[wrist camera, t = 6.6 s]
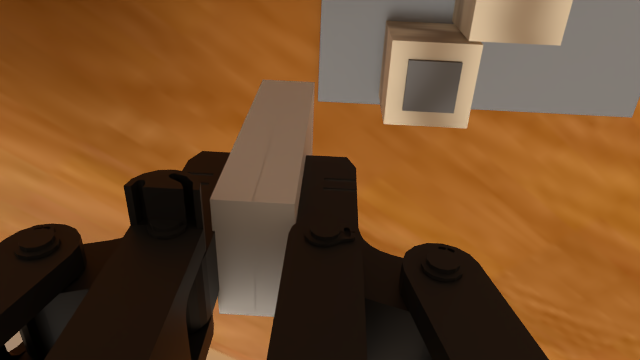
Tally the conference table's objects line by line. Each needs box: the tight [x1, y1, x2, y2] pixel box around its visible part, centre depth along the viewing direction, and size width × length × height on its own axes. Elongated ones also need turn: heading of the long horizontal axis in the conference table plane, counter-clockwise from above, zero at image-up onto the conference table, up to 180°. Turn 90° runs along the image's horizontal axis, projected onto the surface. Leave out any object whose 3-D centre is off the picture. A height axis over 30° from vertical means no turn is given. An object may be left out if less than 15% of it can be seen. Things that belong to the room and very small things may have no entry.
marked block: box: [379, 21, 483, 128], centre depth 37 cm, size 6×6×6 cm
